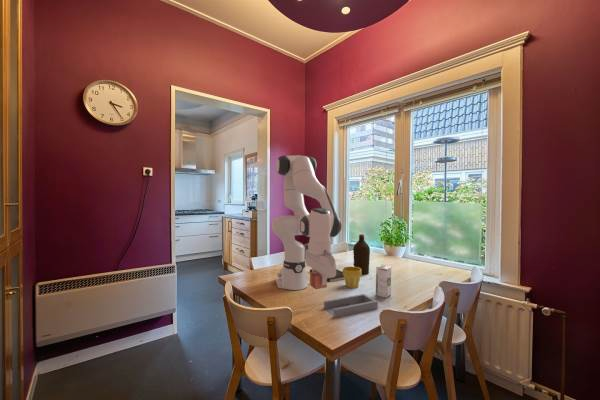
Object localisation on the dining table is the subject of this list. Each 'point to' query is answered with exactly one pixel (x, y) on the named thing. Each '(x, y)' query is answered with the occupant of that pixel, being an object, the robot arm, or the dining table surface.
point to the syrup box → (383, 281)
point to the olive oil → (361, 255)
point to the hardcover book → (338, 276)
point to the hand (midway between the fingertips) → (319, 281)
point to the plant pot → (352, 276)
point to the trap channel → (344, 308)
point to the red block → (316, 280)
